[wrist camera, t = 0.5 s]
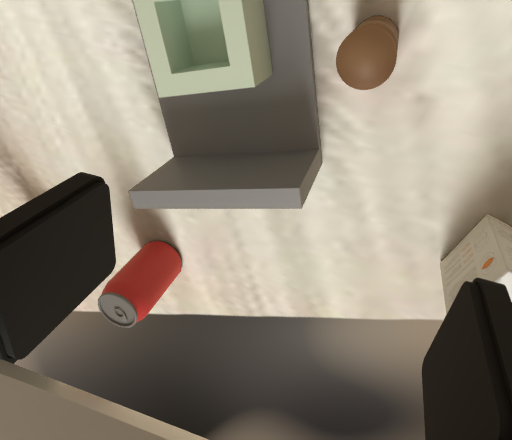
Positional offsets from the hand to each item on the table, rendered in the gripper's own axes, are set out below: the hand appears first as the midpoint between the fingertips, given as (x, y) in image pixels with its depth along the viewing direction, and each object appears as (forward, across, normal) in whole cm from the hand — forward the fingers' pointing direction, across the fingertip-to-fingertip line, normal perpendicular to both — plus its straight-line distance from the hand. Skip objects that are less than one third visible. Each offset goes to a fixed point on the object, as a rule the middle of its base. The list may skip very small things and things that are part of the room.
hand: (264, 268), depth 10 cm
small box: (+34, -18, +17) cm, 42 cm away
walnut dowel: (+34, 0, -2) cm, 34 cm away
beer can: (+35, +22, +31) cm, 52 cm away
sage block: (+33, +15, -1) cm, 36 cm away
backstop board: (+34, +14, +3) cm, 37 cm away
